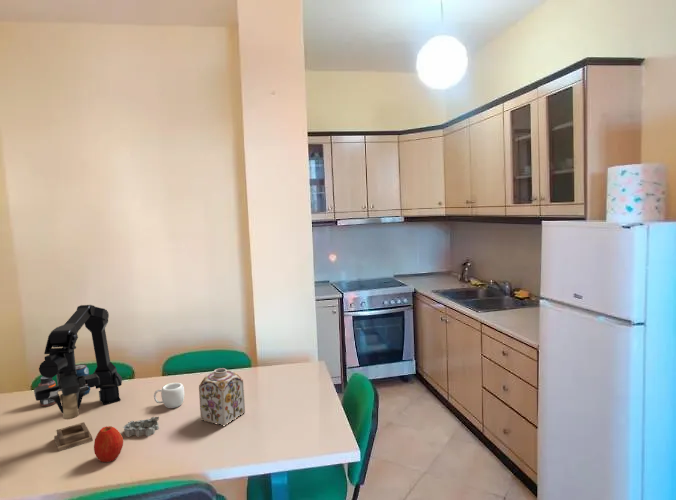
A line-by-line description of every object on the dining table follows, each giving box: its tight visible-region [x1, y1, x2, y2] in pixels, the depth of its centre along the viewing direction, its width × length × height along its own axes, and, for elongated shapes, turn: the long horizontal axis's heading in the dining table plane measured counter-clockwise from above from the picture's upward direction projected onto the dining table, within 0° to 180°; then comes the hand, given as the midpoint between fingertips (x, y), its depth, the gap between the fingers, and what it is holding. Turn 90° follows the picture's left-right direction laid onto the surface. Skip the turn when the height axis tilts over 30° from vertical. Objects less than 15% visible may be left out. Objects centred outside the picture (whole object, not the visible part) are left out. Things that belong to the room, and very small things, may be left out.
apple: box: [93, 425, 124, 463], centre depth 145 cm, size 8×8×11 cm
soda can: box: [76, 363, 91, 397], centre depth 195 cm, size 7×7×12 cm
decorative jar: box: [198, 367, 246, 426], centre depth 170 cm, size 12×12×18 cm
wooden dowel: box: [60, 393, 80, 421], centre depth 156 cm, size 4×4×8 cm
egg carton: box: [122, 416, 160, 438], centre depth 162 cm, size 11×8×4 cm
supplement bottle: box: [37, 376, 57, 407], centre depth 187 cm, size 6×6×11 cm
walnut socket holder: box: [53, 422, 94, 452], centre depth 157 cm, size 10×10×3 cm
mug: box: [153, 382, 185, 409], centre depth 182 cm, size 12×8×8 cm
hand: (70, 410), depth 157 cm, fingers closed on wooden dowel, 4 cm apart
